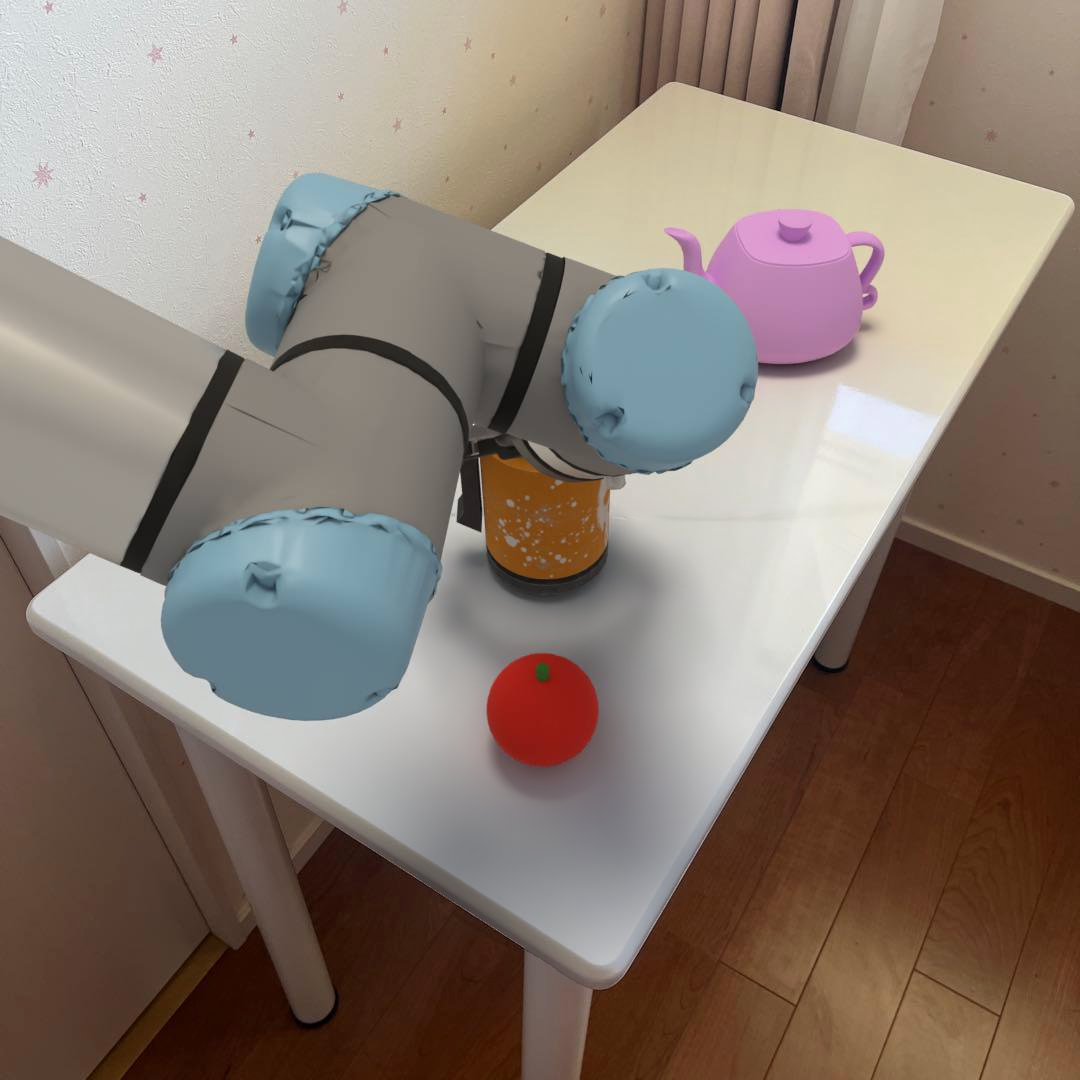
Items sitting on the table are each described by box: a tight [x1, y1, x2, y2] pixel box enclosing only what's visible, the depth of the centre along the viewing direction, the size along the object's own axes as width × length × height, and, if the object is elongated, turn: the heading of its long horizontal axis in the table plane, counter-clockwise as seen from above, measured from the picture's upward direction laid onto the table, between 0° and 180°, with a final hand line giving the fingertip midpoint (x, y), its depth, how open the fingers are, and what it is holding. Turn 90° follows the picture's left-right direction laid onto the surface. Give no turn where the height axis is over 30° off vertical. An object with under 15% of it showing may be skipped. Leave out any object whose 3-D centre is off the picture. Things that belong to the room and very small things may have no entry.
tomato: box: [486, 652, 600, 768], centre depth 68 cm, size 7×7×8 cm
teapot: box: [663, 208, 886, 365], centre depth 97 cm, size 20×13×12 cm, turn 96°
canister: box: [455, 454, 611, 596], centre depth 75 cm, size 9×11×20 cm
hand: (524, 437), depth 77 cm, fingers closed on canister, 10 cm apart
